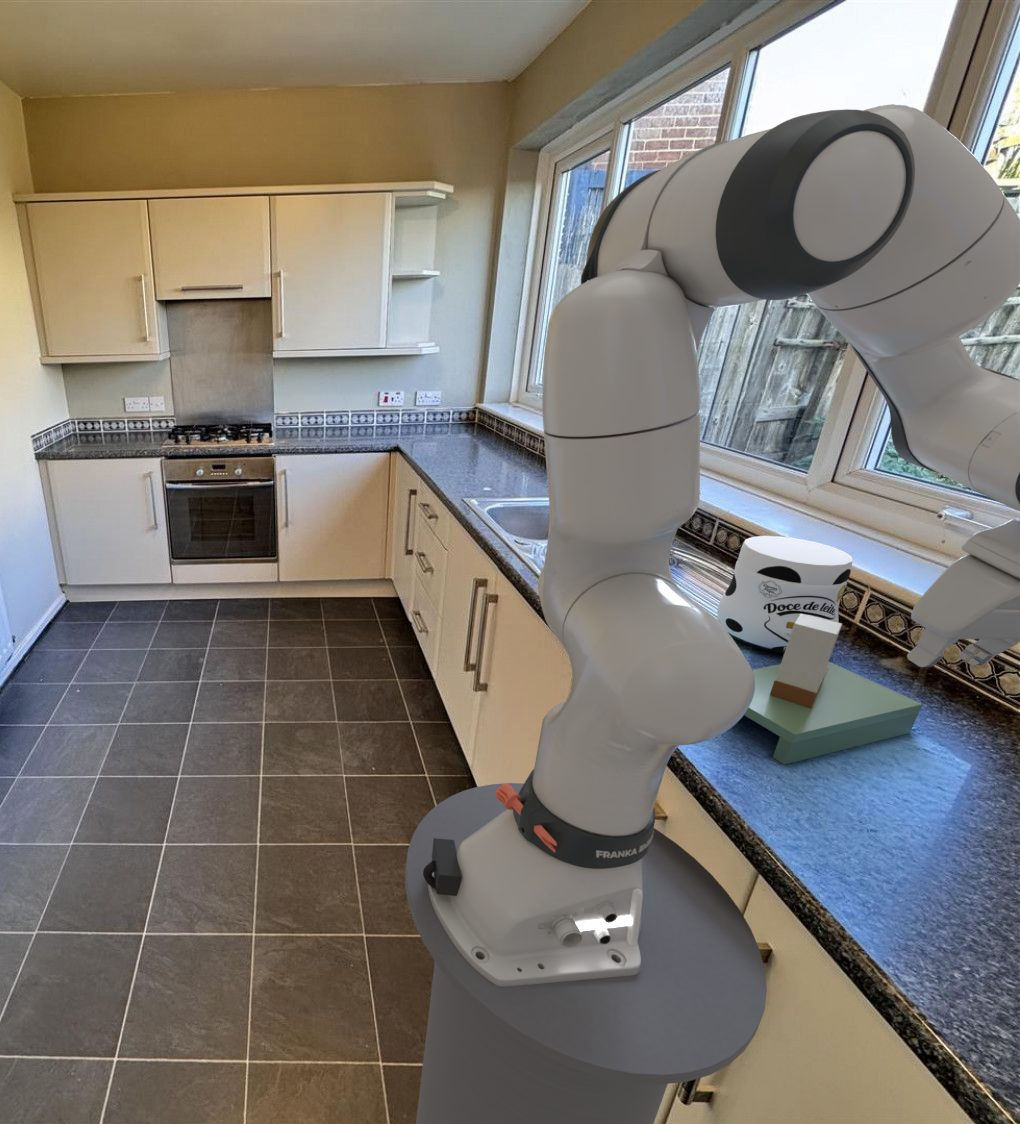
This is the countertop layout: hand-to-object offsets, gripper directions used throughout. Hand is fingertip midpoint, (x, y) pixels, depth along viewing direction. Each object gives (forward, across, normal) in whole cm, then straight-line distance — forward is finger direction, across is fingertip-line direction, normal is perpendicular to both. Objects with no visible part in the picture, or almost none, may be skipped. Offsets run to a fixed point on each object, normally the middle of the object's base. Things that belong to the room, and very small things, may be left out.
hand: (943, 662), depth 66 cm
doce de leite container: (+25, -36, -31) cm, 54 cm away
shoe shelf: (+23, -16, -12) cm, 31 cm away
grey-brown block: (+19, -15, -14) cm, 28 cm away
